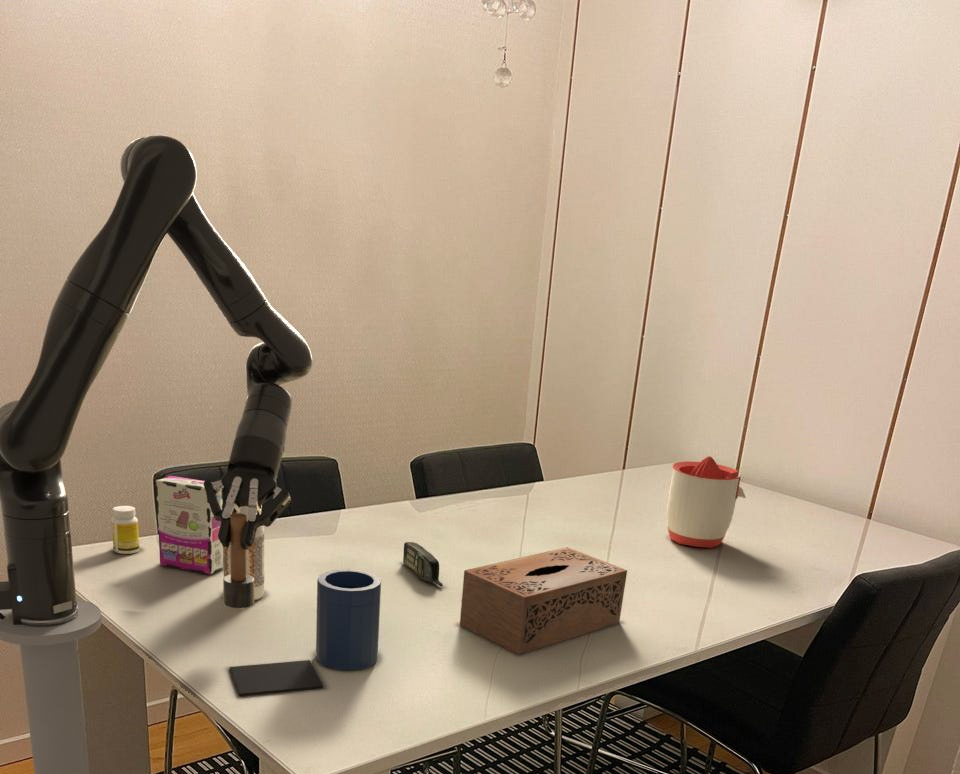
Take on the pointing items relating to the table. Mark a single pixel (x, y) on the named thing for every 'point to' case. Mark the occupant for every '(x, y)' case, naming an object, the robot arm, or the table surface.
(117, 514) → the supplement bottle
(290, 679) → the mat
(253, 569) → the bath foam
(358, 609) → the blue pen holder
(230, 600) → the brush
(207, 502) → the candy bar box
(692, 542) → the citrus juicer
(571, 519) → the table surface
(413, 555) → the mobile phone
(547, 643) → the tissue box cover
